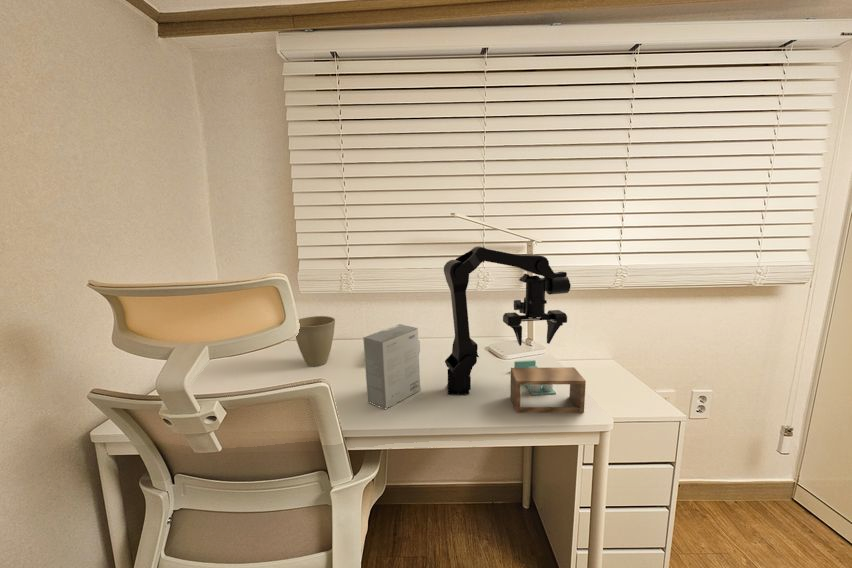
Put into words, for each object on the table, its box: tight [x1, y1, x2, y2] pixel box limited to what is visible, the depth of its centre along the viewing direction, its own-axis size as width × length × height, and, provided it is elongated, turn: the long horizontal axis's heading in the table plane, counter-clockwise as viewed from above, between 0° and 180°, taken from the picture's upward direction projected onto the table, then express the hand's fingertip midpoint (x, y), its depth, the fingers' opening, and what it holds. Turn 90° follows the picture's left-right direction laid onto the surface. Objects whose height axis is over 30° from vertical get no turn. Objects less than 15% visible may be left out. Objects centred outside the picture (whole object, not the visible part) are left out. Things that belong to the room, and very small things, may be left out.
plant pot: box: [295, 315, 336, 367], centre depth 142 cm, size 15×15×16 cm
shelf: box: [509, 366, 586, 413], centre depth 108 cm, size 18×9×9 cm, turn 88°
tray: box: [513, 359, 557, 396], centre depth 123 cm, size 18×7×5 cm, turn 5°
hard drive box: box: [362, 324, 421, 410], centre depth 114 cm, size 16×8×20 cm, turn 141°
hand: (534, 344), depth 122 cm, fingers open, 9 cm apart
